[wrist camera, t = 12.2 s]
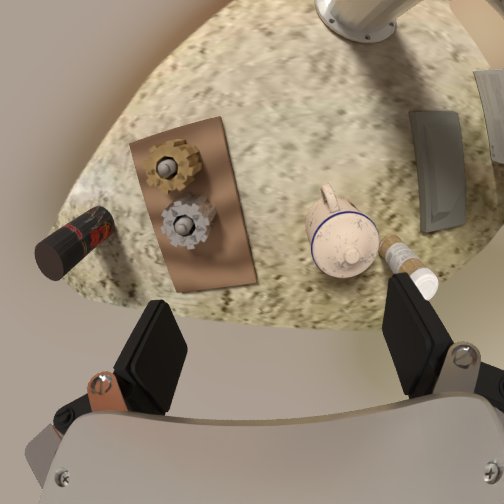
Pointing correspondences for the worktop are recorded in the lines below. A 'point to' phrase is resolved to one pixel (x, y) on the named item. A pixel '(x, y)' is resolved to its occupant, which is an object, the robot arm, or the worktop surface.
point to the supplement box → (493, 108)
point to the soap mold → (439, 169)
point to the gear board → (198, 182)
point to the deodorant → (73, 242)
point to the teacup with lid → (340, 236)
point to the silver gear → (194, 209)
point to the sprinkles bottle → (408, 264)
